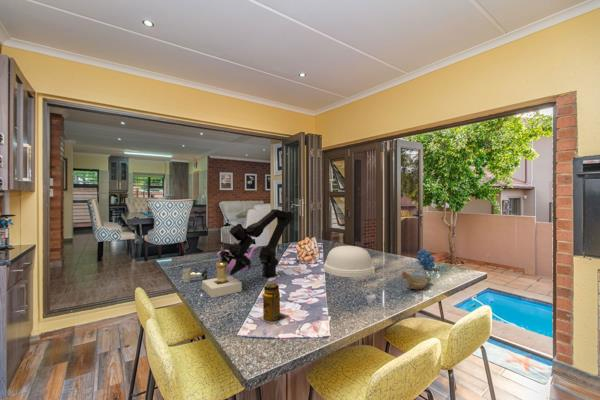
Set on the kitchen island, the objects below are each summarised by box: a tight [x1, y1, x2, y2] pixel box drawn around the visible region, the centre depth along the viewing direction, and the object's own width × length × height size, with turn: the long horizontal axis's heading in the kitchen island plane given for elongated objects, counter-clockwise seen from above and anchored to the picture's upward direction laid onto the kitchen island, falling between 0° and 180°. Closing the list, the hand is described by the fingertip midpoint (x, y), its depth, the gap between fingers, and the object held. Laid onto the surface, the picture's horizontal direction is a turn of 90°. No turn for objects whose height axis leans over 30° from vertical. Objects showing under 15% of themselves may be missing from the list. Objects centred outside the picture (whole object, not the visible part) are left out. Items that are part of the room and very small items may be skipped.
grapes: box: [416, 248, 436, 271], centre depth 164 cm, size 12×7×12 cm, turn 32°
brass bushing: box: [215, 261, 228, 284], centre depth 128 cm, size 5×5×13 cm
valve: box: [182, 267, 208, 283], centre depth 142 cm, size 7×7×12 cm
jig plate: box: [201, 275, 243, 299], centre depth 128 cm, size 14×14×4 cm
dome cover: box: [323, 245, 376, 278], centre depth 163 cm, size 32×30×14 cm
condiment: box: [258, 283, 289, 325], centre depth 100 cm, size 7×8×12 cm
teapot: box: [216, 246, 259, 272], centre depth 169 cm, size 15×25×14 cm, turn 106°
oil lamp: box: [401, 270, 432, 291], centre depth 132 cm, size 9×21×10 cm, turn 123°
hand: (224, 272), depth 129 cm, fingers open, 9 cm apart
